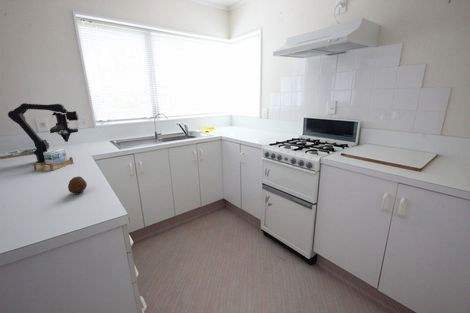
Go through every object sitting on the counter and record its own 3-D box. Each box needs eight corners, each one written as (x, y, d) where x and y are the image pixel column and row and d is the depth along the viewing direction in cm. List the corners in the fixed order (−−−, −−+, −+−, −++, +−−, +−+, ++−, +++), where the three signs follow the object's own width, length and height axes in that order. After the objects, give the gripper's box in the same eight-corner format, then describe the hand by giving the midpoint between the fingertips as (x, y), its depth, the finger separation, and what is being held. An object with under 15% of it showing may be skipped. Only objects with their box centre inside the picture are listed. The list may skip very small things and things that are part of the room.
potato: (87, 187, 114) (84, 173, 112) (88, 194, 106) (85, 178, 104) (70, 191, 110) (66, 176, 108) (69, 198, 102) (65, 182, 100)
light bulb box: (54, 168, 148) (50, 152, 145) (46, 168, 149) (42, 152, 146) (68, 163, 158) (65, 148, 155) (60, 163, 159) (57, 148, 156)
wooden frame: (34, 170, 144) (32, 163, 143) (57, 163, 160) (55, 157, 158) (52, 170, 142) (50, 164, 141) (73, 163, 158) (72, 157, 157)
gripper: (40, 122, 158) (45, 144, 162) (63, 122, 156) (68, 144, 160) (54, 120, 169) (59, 141, 173) (76, 120, 166) (80, 141, 170)
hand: (66, 141), depth 169 cm, fingers closed
